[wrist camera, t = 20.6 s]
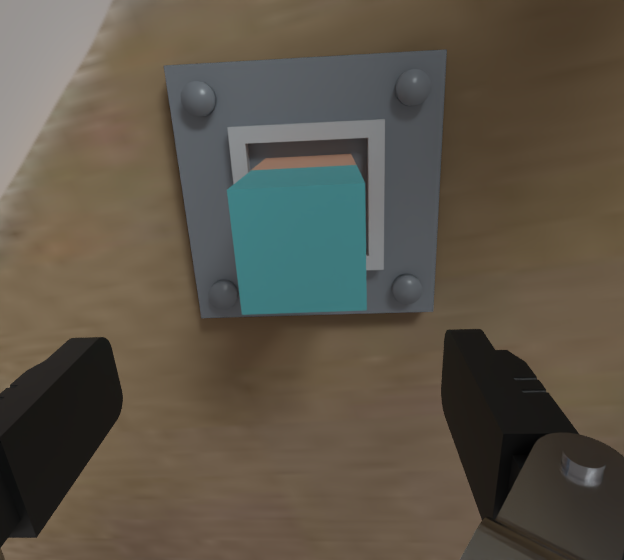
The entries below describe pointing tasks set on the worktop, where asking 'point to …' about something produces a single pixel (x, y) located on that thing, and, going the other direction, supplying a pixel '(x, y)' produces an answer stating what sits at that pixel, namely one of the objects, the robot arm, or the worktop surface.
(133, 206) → the worktop surface
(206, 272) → the plate
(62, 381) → the robot arm
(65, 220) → the worktop surface
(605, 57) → the worktop surface
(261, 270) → the teal block
